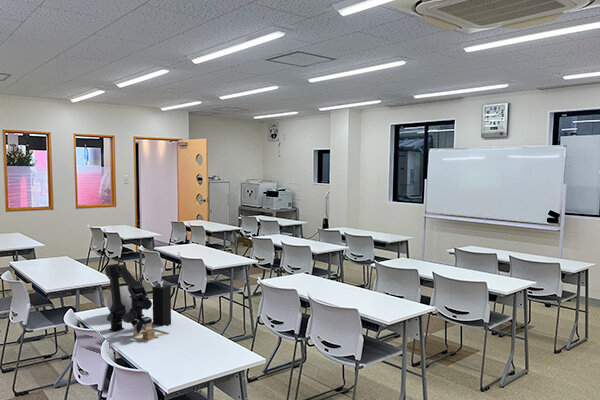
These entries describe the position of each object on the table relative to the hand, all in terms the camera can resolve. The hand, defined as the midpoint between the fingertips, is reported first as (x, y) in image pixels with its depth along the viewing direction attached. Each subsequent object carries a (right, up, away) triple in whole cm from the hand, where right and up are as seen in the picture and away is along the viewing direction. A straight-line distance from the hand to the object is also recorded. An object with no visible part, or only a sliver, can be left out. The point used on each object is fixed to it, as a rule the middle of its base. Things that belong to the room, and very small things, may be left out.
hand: (137, 333), depth 259 cm
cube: (+8, -2, -5) cm, 10 cm away
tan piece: (+5, -3, -3) cm, 6 cm away
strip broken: (+9, -3, +3) cm, 10 cm away
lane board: (+7, -3, 0) cm, 7 cm away
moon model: (-22, 0, +37) cm, 43 cm away
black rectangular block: (+8, -2, +21) cm, 22 cm away
